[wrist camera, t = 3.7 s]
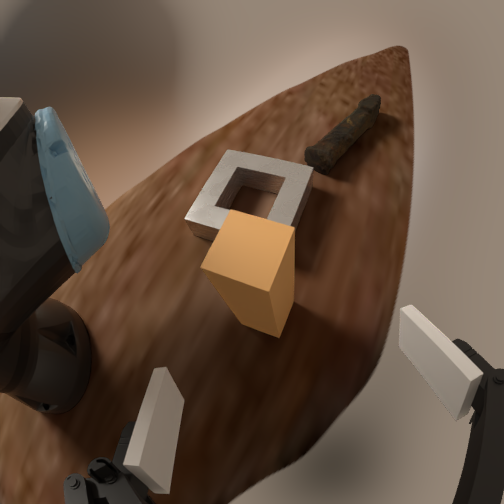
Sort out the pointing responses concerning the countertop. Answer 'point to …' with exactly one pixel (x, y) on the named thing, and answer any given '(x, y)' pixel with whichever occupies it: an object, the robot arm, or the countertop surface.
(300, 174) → the square frame
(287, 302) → the orange rectangular block
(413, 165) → the countertop surface
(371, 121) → the hand tool
